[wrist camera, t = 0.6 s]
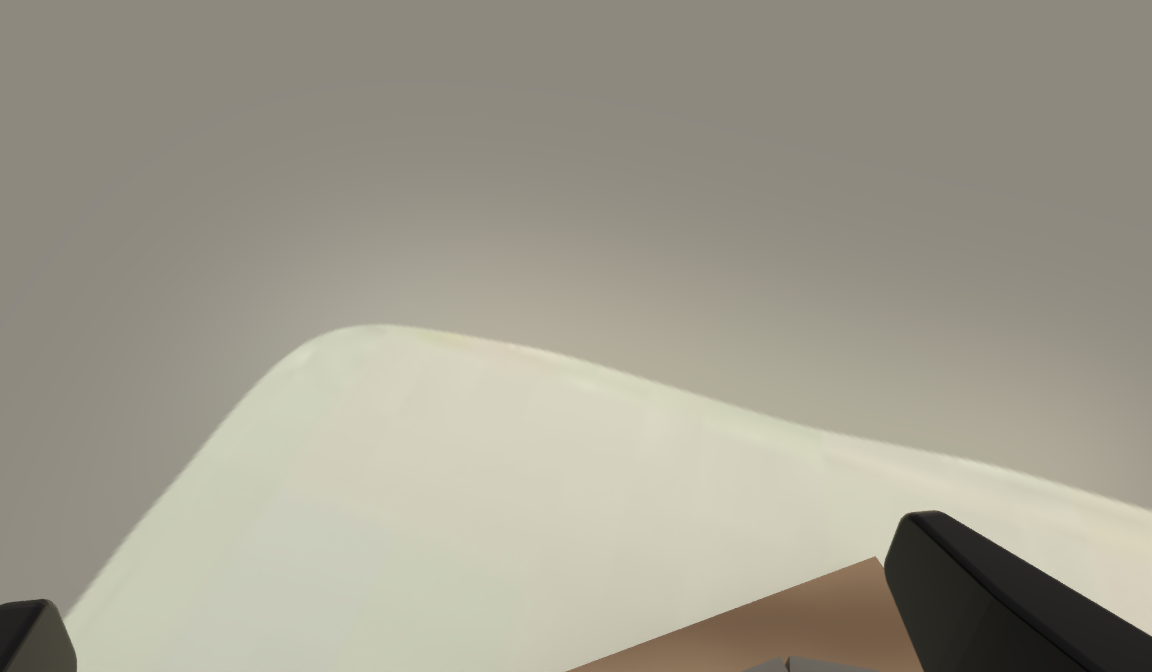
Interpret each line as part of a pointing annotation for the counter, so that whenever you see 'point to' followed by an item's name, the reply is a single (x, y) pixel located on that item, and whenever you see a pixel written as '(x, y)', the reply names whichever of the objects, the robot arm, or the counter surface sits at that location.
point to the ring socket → (788, 633)
